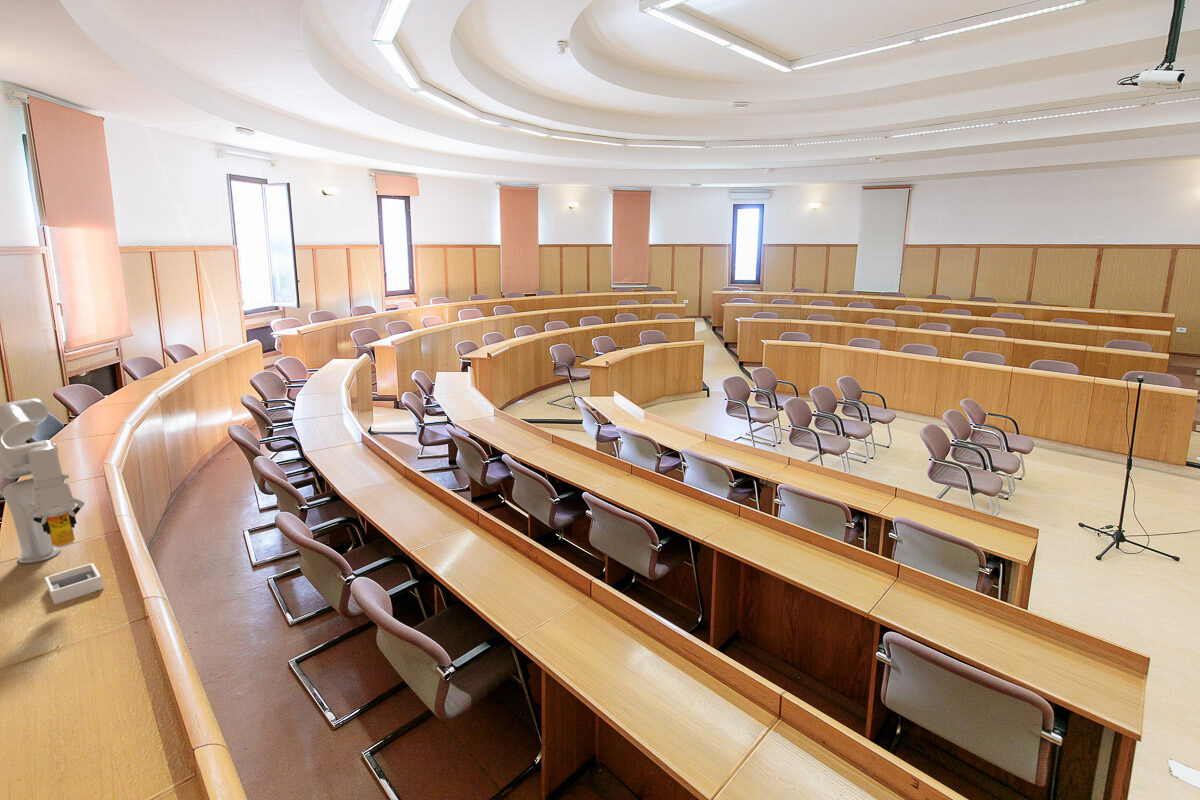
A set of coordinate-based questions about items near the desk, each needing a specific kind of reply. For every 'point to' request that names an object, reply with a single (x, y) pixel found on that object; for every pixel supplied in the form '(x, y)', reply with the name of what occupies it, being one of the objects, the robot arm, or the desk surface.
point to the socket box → (74, 583)
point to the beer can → (60, 526)
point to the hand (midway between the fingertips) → (60, 529)
